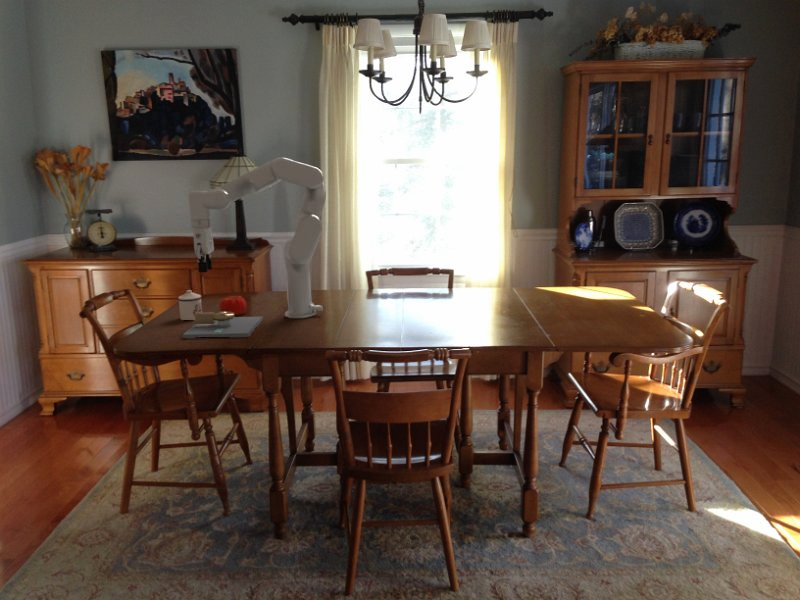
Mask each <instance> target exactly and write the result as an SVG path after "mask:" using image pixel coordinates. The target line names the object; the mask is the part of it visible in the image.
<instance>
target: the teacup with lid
mask: <svg viewBox="0 0 800 600" xmlns="http://www.w3.org/2000/svg"><path fill="white" fill-rule="evenodd" d="M185 292H186V293H183V294H182V295H180V296H178V298H177V300H178V306H179V315H180V320H181V321H183V320H193V321H195V313H198V312H203V307H202V295H201V294H198V293H195V292H192V290H191V289H188V290H186V291H185Z"/></svg>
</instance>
